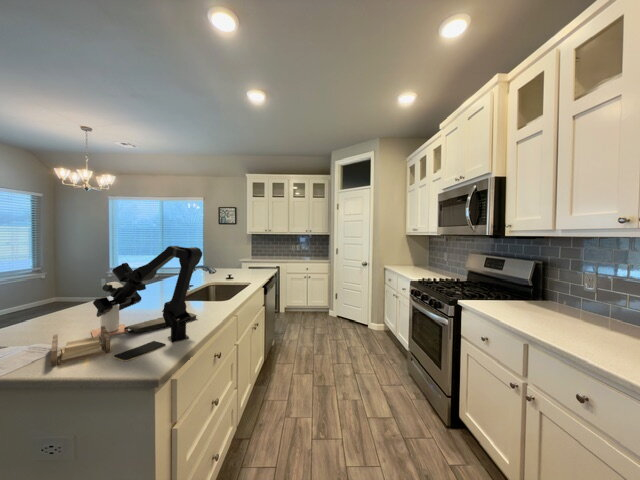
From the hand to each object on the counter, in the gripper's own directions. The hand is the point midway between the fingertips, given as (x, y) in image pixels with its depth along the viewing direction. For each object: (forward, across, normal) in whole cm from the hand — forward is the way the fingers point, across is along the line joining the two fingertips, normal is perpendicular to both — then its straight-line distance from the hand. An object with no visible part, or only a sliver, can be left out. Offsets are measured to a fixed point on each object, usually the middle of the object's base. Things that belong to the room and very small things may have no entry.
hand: (107, 313), depth 116 cm
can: (+5, 0, +6) cm, 8 cm away
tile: (+5, 0, +7) cm, 8 cm away
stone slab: (-6, -13, +18) cm, 23 cm away
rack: (-1, +18, +12) cm, 22 cm away
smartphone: (-15, +14, +28) cm, 35 cm away
